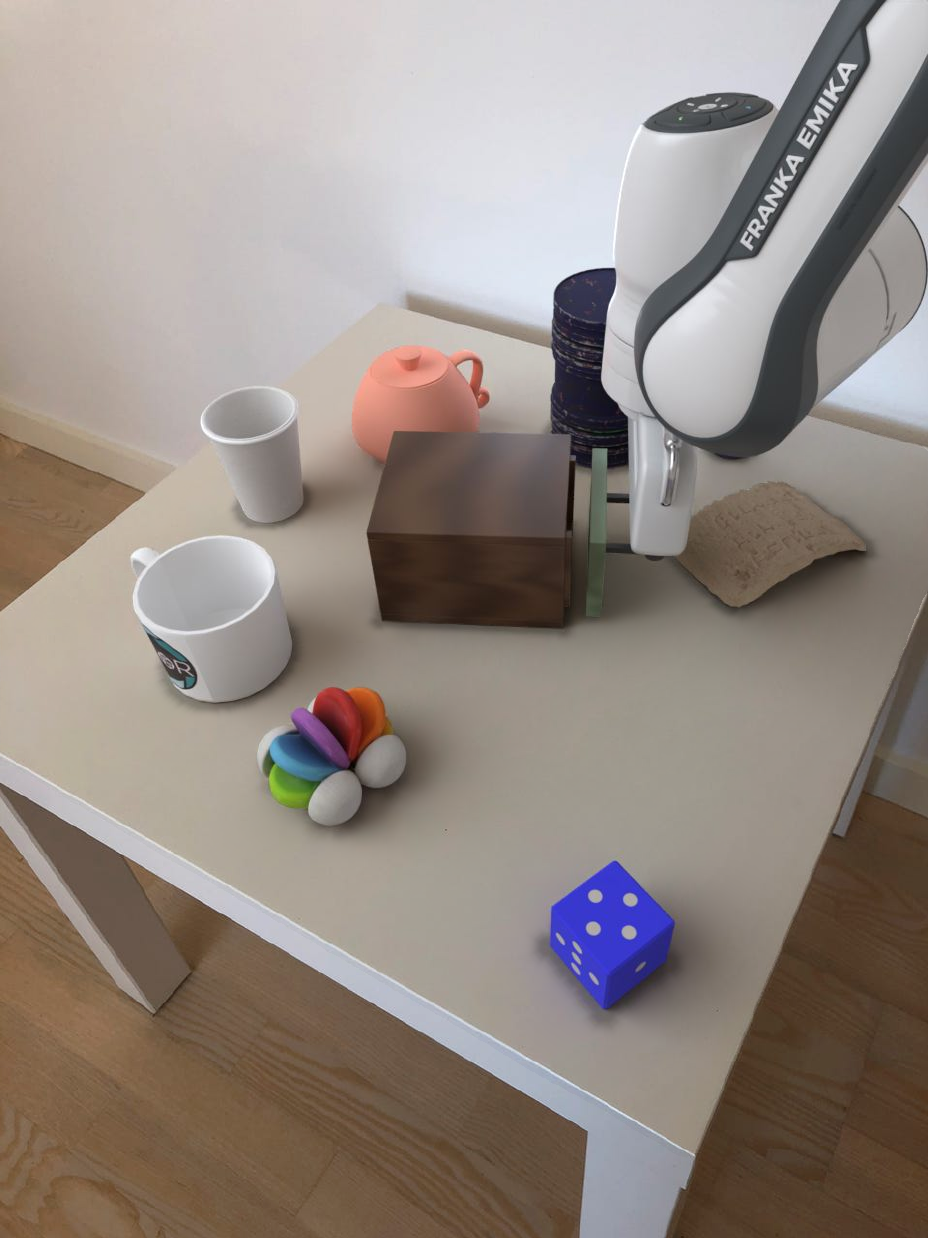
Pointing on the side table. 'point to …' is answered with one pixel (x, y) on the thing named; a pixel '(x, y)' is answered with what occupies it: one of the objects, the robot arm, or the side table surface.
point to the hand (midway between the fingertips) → (645, 515)
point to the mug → (213, 615)
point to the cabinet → (472, 528)
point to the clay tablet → (760, 540)
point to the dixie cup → (258, 449)
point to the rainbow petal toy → (332, 754)
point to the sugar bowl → (416, 396)
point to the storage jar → (585, 369)
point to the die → (610, 933)
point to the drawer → (594, 532)
